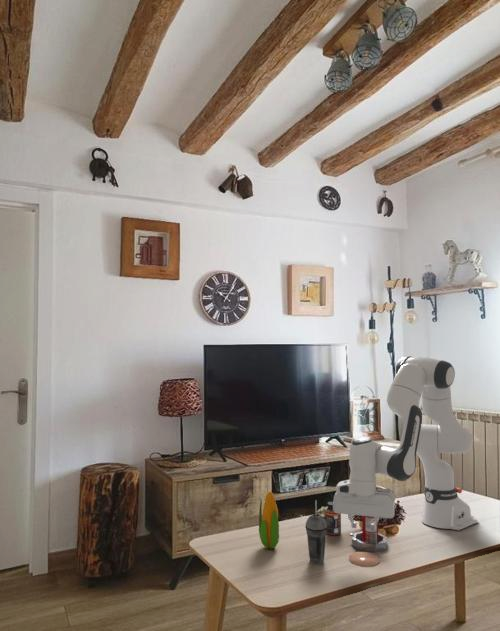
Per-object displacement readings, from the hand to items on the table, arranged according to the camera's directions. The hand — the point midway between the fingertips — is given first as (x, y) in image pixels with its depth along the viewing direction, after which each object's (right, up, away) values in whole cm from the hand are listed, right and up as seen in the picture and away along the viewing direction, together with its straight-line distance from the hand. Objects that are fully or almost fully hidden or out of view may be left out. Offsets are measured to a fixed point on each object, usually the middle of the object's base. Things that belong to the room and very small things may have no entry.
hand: (363, 528), depth 170 cm
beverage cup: (-16, -11, -2) cm, 19 cm away
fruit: (-9, -12, +31) cm, 35 cm away
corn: (-31, -11, +9) cm, 35 cm away
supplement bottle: (-6, -12, +23) cm, 27 cm away
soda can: (+5, -11, +13) cm, 18 cm away
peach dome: (0, -10, 0) cm, 10 cm away
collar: (+5, -11, +12) cm, 17 cm away
